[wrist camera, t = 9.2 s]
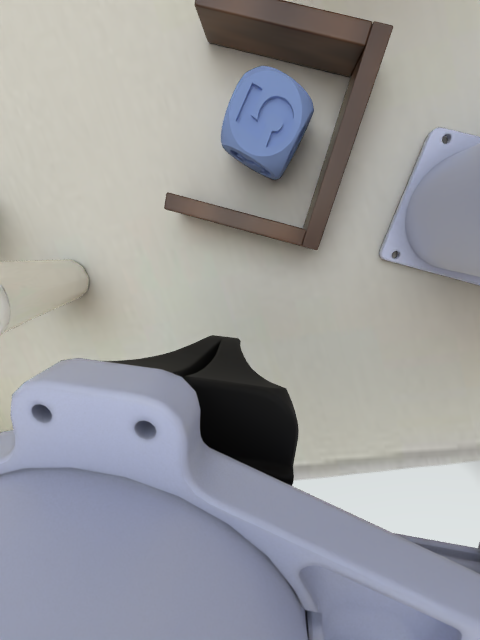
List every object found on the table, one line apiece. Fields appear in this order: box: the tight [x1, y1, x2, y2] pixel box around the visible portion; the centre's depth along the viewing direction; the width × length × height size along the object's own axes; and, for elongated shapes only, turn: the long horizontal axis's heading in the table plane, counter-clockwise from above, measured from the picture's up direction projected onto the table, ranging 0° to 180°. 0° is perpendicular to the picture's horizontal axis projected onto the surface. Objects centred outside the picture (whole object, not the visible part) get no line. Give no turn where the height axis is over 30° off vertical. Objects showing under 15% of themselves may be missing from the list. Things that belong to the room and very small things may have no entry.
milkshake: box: [0, 259, 89, 335], centre depth 18 cm, size 5×5×10 cm
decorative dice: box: [221, 66, 314, 180], centre depth 16 cm, size 4×4×4 cm
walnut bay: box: [164, 0, 393, 250], centre depth 17 cm, size 10×11×3 cm
